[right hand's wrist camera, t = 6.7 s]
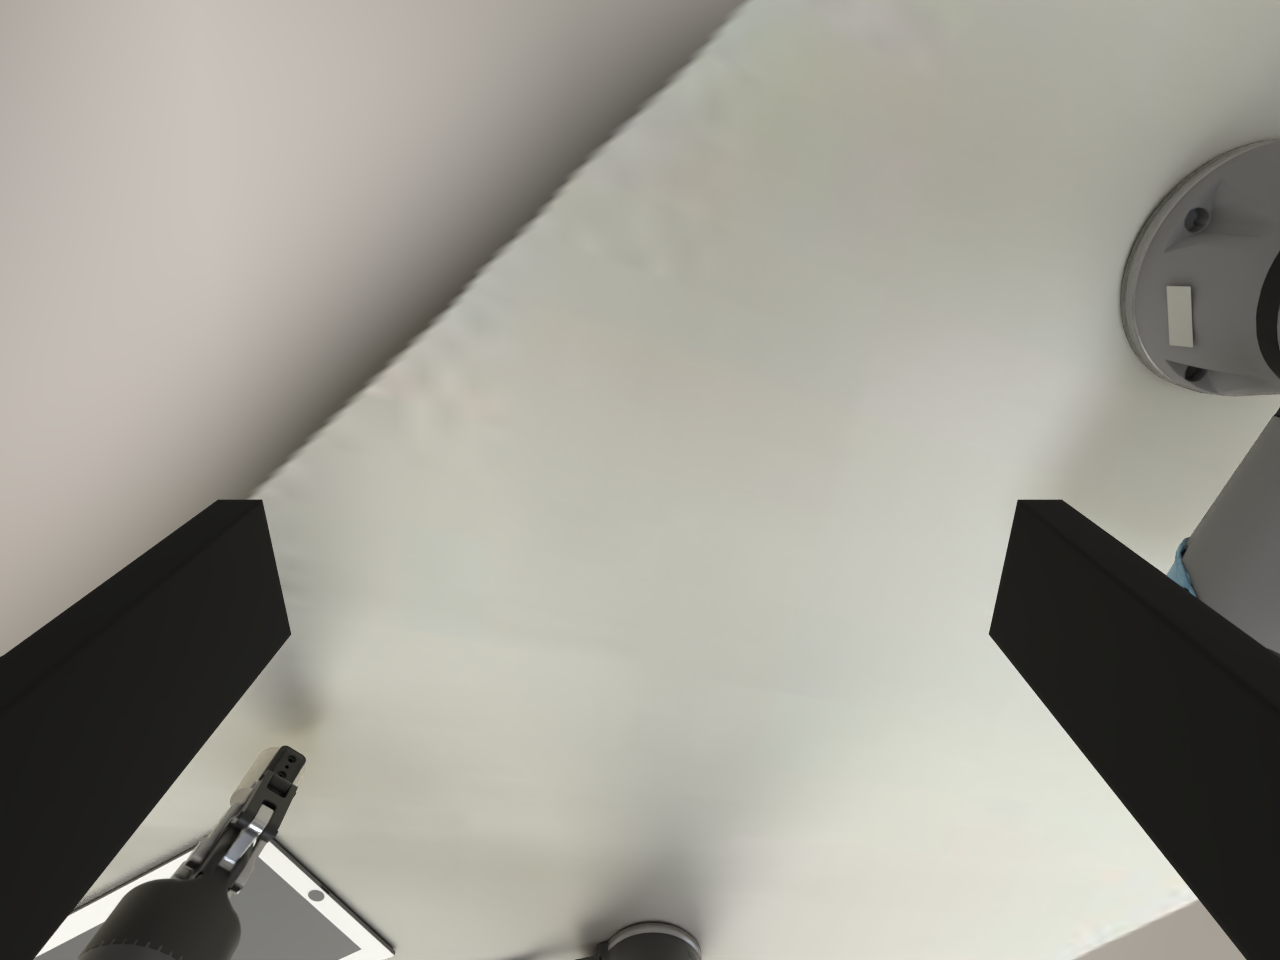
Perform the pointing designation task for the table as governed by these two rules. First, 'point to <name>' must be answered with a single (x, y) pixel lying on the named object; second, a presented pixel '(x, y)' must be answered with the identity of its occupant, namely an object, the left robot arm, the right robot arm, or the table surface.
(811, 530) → the table surface
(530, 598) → the table surface
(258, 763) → the can
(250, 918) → the tablet
